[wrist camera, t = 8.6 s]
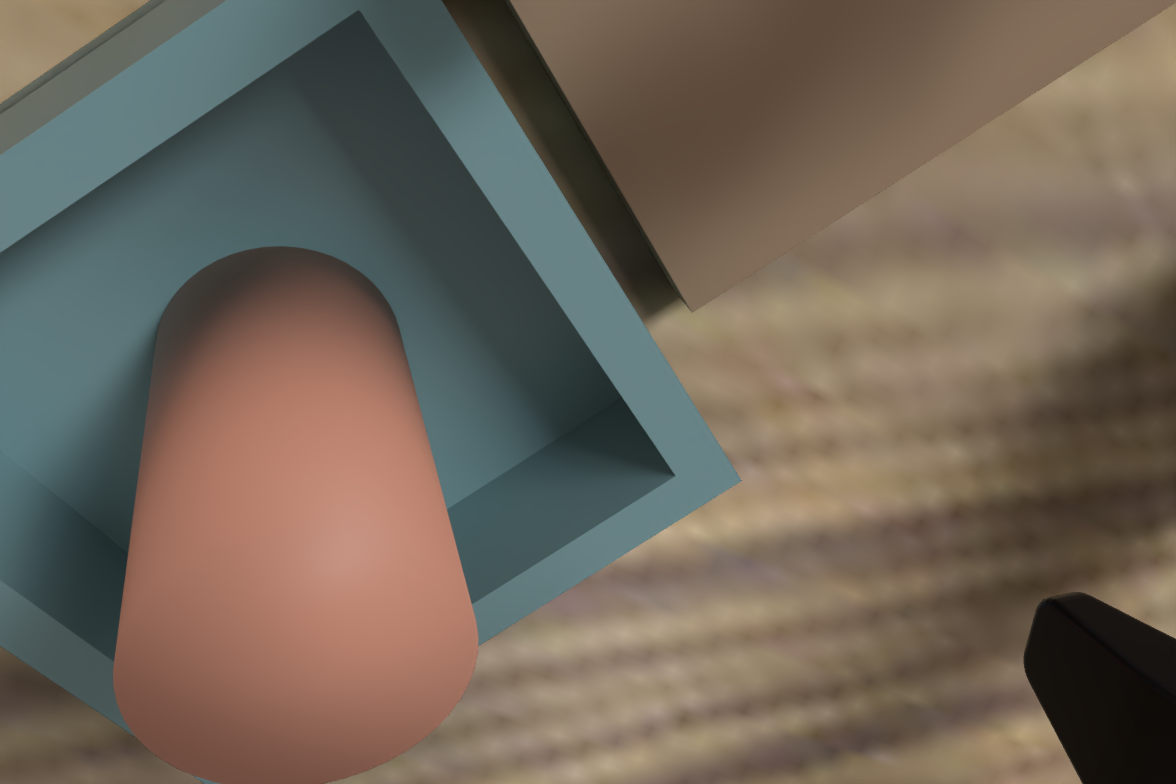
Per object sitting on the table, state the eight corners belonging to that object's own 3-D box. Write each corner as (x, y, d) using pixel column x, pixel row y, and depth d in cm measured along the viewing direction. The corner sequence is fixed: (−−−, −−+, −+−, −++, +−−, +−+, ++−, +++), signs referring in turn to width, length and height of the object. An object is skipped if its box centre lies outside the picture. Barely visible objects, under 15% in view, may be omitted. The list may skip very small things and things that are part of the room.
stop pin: (445, 372, 21) (538, 668, 14) (261, 490, 21) (271, 832, 15) (307, 199, 18) (345, 465, 12) (99, 336, 19) (26, 669, 12)
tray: (672, 376, 24) (741, 480, 21) (231, 657, 25) (230, 801, 21) (349, -138, 17) (377, -104, 14) (-251, 276, 18) (-362, 403, 14)
